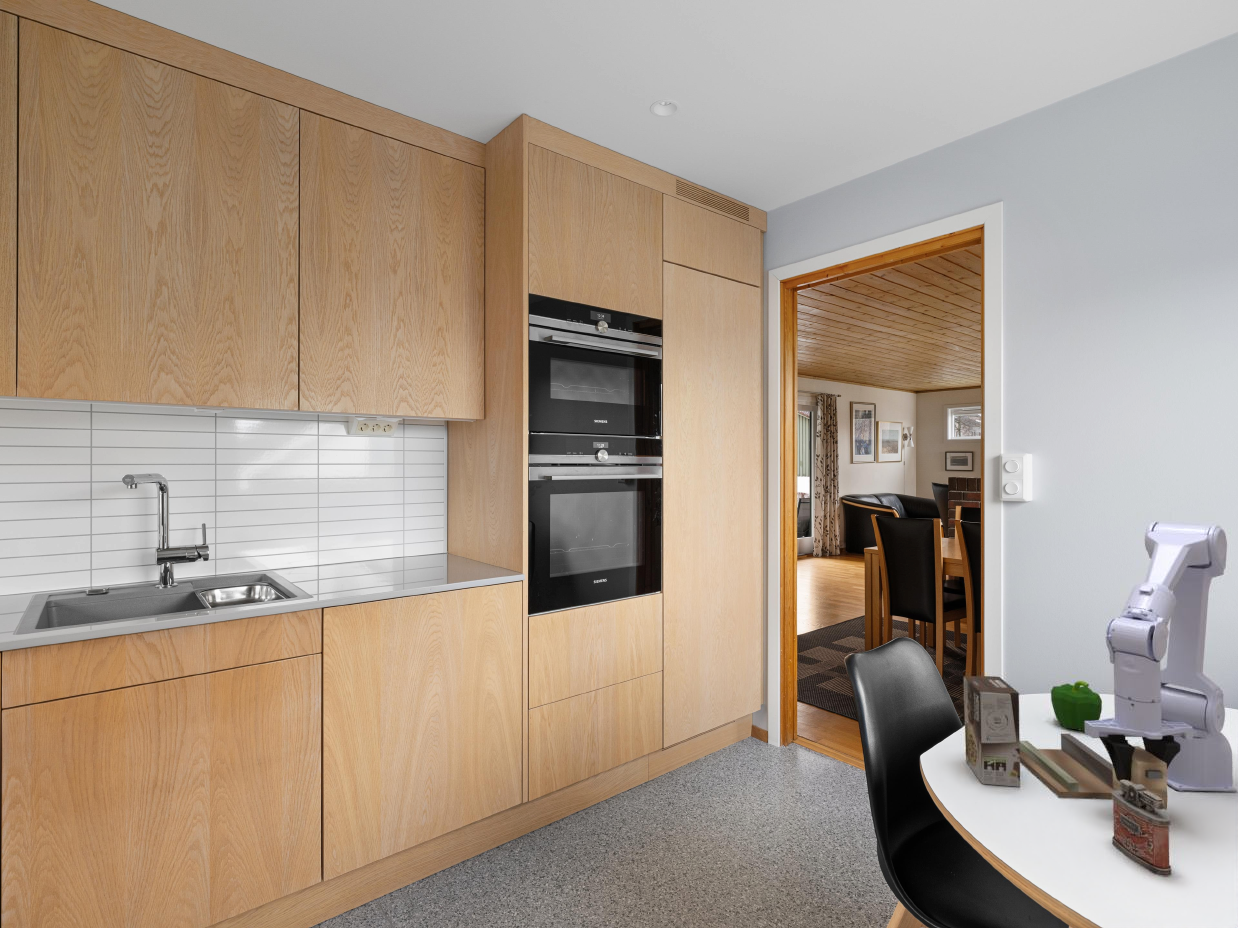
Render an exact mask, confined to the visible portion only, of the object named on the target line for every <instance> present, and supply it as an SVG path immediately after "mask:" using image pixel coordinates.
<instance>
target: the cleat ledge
mask: <svg viewBox="0 0 1238 928" xmlns="http://www.w3.org/2000/svg"><path fill="white" fill-rule="evenodd" d="M1060 747H1061V748H1058V749H1056V748H1053V749H1051V748H1037V747H1035V746H1034V745H1033V744H1032V743H1031V742H1029V741H1028V740H1020V764H1022V765H1023V766H1024V767H1025V768H1026V769H1027V770H1028V771H1029V772H1031V774H1033V775H1034V776H1035V777H1036V778H1037V779H1039V781H1040V782H1042V783H1043V784H1044V785H1045V786H1046V787H1047V788H1048V787H1049V788H1050V789H1049V788H1048V789H1049V790H1051V791H1052V793H1054V794H1055V795H1056V796H1057V795H1058V796H1059V797H1063V798H1062V799H1091V800H1092V799H1093V798H1096V799H1097V800H1098V799H1099V798H1100V799H1099V800H1101V799H1102V800H1113V799H1112V791H1115V790H1114V789H1113V764H1112V762H1111V761H1109V760H1107V759H1105V758H1104V757H1103V756H1101V755H1100V754H1099V753H1097V752H1096V751H1094V750H1093V749H1092V748H1091V747H1089V746H1088V745H1086V744H1085V743H1084V742H1082V741H1080V740H1079V739H1078V738H1076V737H1075V736H1073V734H1070V733H1060ZM1058 796H1057V797H1058Z"/></svg>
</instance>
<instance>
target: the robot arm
mask: <svg viewBox="0 0 1238 928" xmlns="http://www.w3.org/2000/svg"><path fill="white" fill-rule="evenodd" d="M1144 546H1145V550H1146V552H1147V553H1148V557H1149V559H1150V563H1149V564H1148V565H1149V566H1148V569H1147V572H1146V576H1145V579H1144V582H1143V583H1137V584H1135V585H1134V586H1133V588H1132V590H1131V592H1130V594H1129V596H1128V598H1127V599H1126V600H1127V601H1126V602H1125V605H1124V607H1123V609H1122V611H1121V614H1120V615H1119V616H1117V617H1116V618H1111V619H1110V620H1109V622H1108V623H1107V627H1106V631H1105V632H1106V633H1105V643H1106V647H1107V650H1108V652H1109V661H1110V662H1109V663H1110V664H1112V665H1113V689H1114V690H1113V694H1114V695H1113V696H1114V697H1113V698H1114V700H1113V701H1114V717H1111V718H1110V717H1109V718H1103V719H1099V720H1096V721H1085V731H1084V733H1085V734H1086V735H1087V736H1089V737H1090V738H1092V739H1100V741H1101V743H1102V744H1103V746H1104V748H1105V749H1106V752H1107V754H1108V756H1109V759H1110V762H1111V764H1113V767H1114V770H1115V774H1116V778H1117V780H1118V781H1120V780H1128V781H1131V761H1132V756H1133V753H1134V750H1135V747H1133V746H1134V745H1132V744H1130V743H1129V742H1128V741H1129V740H1128V739H1126V738H1141V739H1142V741H1143V742H1142V743H1143V746H1144V750H1146V751H1148V752H1149V753H1151V754H1152V755H1154V756H1155V757H1157V758H1159V759H1160V760H1162V761H1163V762H1165V763H1166V764H1167V786H1170V788H1172V789H1174V790H1176V791H1191V792H1192V791H1193V792H1194V791H1196V792H1197V791H1199V792H1200V791H1201V792H1202V791H1203V792H1205V791H1206V792H1237V790H1238V788H1237V787H1235V786H1233V785H1234V783H1233V782H1234V781H1233V780H1234V779H1233V777H1234V775H1233V774H1234V773H1233V750H1232V747H1231V744H1230V742H1229V740H1228V738H1227V737H1226V736H1225V735H1224V733H1222V730H1223V728H1224V725H1225V720H1226V718H1225V717H1226V709H1225V708H1226V707H1225V705H1224V704H1225V703H1224V693H1223V690H1222V689H1221V687H1220V686H1218V685H1217V684H1216V683H1215V682H1214V681H1212V680H1211V679H1210V678H1209V677H1207V676H1206V675H1205V674H1204V659H1205V658H1204V657H1205V645H1206V635H1207V634H1206V633H1207V632H1206V631H1207V621H1208V619H1207V617H1208V606H1209V605H1208V603H1209V592H1210V586H1211V583H1212V579H1214V578H1216V577H1220V576H1223V575H1224V573H1225V569H1226V566H1227V565H1226V564H1227V551H1228V539H1227V536H1226V532H1225V530H1224V529H1223V528H1222V527H1221V526H1220V525H1215V524H1213V525H1202V524H1201V525H1200V524H1184V523H1182V524H1181V523H1167V522H1166V523H1165V522H1159V521H1152V522H1151V523H1150V524H1149V525H1148V526H1147V527H1146V529H1145V532H1144ZM1168 625H1169V627H1168ZM1168 628H1169V629H1168ZM1166 652H1167V655H1166V656H1167V659H1166V667H1164V668H1162V669H1161V661H1162V660H1163V659H1164V657H1165V654H1166ZM1167 685H1173V686H1178V687H1183V688H1187V689H1191V690H1195V691H1198V692H1194V691H1190V690H1187V689H1186V690H1185V689H1181V688H1176V687H1171V686H1167ZM1199 692H1200V693H1199Z"/></svg>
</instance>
